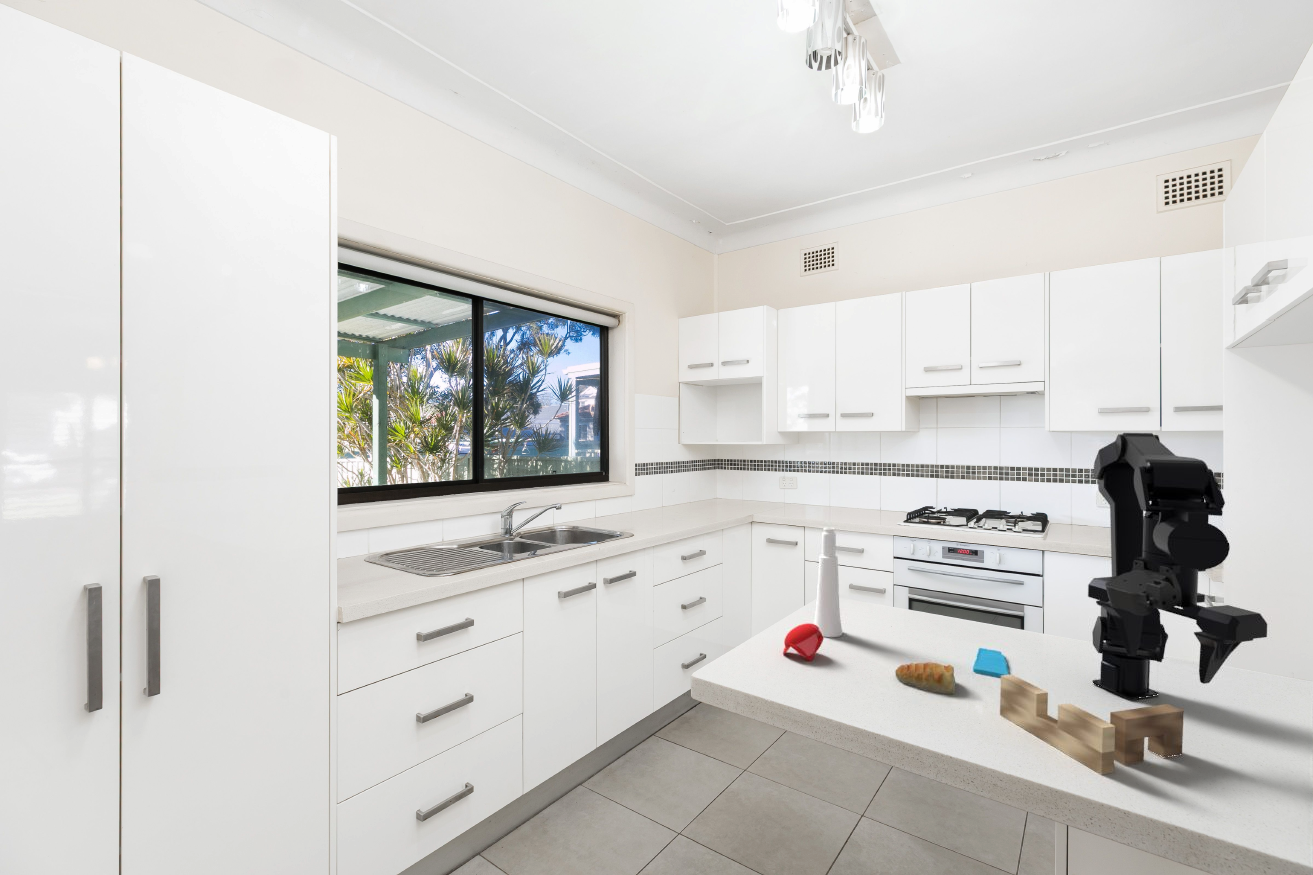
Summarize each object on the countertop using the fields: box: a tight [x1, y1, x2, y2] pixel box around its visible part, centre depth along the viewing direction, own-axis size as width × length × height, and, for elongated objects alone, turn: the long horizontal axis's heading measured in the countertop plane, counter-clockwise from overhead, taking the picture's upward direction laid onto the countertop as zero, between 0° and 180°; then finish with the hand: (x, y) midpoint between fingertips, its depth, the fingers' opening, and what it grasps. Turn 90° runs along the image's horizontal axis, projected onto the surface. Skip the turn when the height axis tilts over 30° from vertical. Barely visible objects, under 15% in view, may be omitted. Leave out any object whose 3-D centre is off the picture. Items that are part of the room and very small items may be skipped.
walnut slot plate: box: [1109, 703, 1185, 766], centre depth 81 cm, size 10×2×6 cm, turn 104°
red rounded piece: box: [782, 622, 824, 661], centre depth 114 cm, size 8×6×6 cm
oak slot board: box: [999, 673, 1115, 776], centre depth 84 cm, size 16×2×6 cm, turn 14°
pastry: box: [895, 661, 956, 695], centre depth 103 cm, size 9×7×4 cm
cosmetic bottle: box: [813, 526, 843, 638], centre depth 127 cm, size 6×6×22 cm
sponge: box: [972, 647, 1010, 679], centre depth 111 cm, size 2×12×6 cm
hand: (1166, 668), depth 81 cm, fingers open, 9 cm apart
